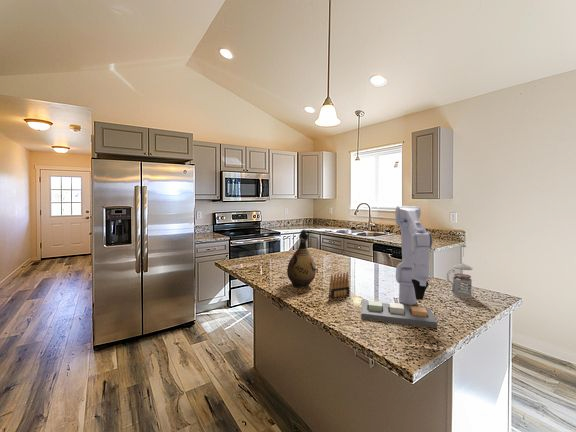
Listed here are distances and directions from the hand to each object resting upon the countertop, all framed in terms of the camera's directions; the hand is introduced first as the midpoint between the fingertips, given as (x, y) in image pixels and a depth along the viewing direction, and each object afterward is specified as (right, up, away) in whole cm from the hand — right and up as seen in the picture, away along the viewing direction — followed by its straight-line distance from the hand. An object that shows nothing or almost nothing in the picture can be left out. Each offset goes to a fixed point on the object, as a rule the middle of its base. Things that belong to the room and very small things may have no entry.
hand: (419, 299), depth 108 cm
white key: (-8, -7, +3) cm, 11 cm away
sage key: (-15, -7, +5) cm, 18 cm away
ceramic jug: (-43, -6, +45) cm, 62 cm away
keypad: (-8, -8, +3) cm, 12 cm away
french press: (+34, -7, +31) cm, 47 cm away
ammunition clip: (-26, -7, +25) cm, 37 cm away
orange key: (0, -8, 0) cm, 8 cm away
